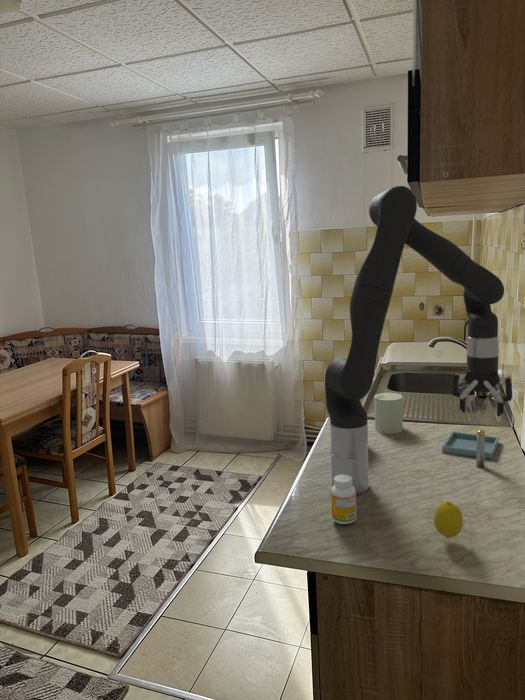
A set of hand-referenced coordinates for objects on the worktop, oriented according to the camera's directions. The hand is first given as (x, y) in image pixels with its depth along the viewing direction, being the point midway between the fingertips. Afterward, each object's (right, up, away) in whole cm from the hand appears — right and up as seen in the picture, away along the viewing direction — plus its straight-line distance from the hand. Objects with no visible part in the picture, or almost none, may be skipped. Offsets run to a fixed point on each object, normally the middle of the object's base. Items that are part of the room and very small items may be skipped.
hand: (481, 413), depth 134 cm
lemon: (-20, -22, -30) cm, 42 cm away
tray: (+3, -12, +15) cm, 19 cm away
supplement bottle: (-39, -21, -20) cm, 49 cm away
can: (-16, -10, +34) cm, 39 cm away
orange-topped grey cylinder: (+1, -15, +3) cm, 15 cm away
